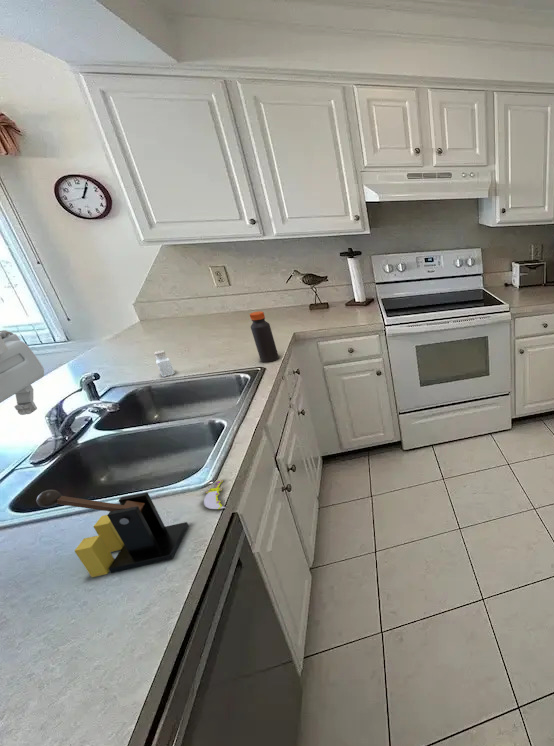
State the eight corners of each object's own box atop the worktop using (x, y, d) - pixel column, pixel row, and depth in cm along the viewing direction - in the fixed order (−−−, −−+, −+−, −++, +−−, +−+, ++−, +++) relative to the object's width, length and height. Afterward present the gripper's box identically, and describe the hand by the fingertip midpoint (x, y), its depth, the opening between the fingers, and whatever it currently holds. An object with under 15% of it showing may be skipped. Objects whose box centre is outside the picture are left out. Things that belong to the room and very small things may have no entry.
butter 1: (108, 552, 82) (92, 526, 79) (116, 541, 84) (101, 515, 81) (123, 549, 82) (108, 523, 79) (130, 538, 85) (116, 512, 82)
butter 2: (91, 577, 77) (73, 550, 74) (100, 564, 79) (83, 538, 76) (107, 574, 77) (90, 547, 74) (115, 561, 80) (99, 534, 77)
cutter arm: (30, 509, 71) (33, 495, 71) (42, 497, 74) (45, 484, 73) (135, 523, 78) (139, 511, 77) (142, 512, 80) (146, 500, 80)
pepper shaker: (162, 377, 157) (153, 354, 153) (161, 374, 160) (152, 351, 156) (175, 374, 160) (166, 351, 156) (174, 371, 162) (164, 349, 158)
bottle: (257, 361, 169) (242, 315, 160) (270, 355, 175) (256, 310, 166) (269, 363, 167) (256, 316, 158) (282, 357, 173) (270, 311, 164)
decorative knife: (200, 516, 90) (226, 508, 92) (199, 514, 90) (225, 506, 92) (207, 484, 100) (231, 477, 101) (207, 483, 99) (230, 476, 101)
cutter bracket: (110, 573, 77) (81, 526, 72) (133, 537, 85) (109, 493, 80) (172, 559, 80) (148, 513, 75) (189, 525, 88) (168, 482, 83)
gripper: (-14, 329, 69) (29, 400, 75) (-141, 378, 52) (-73, 467, 58) (33, 324, 71) (71, 395, 77) (-75, 371, 53) (-15, 458, 59)
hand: (8, 426), depth 67 cm, fingers open, 8 cm apart
